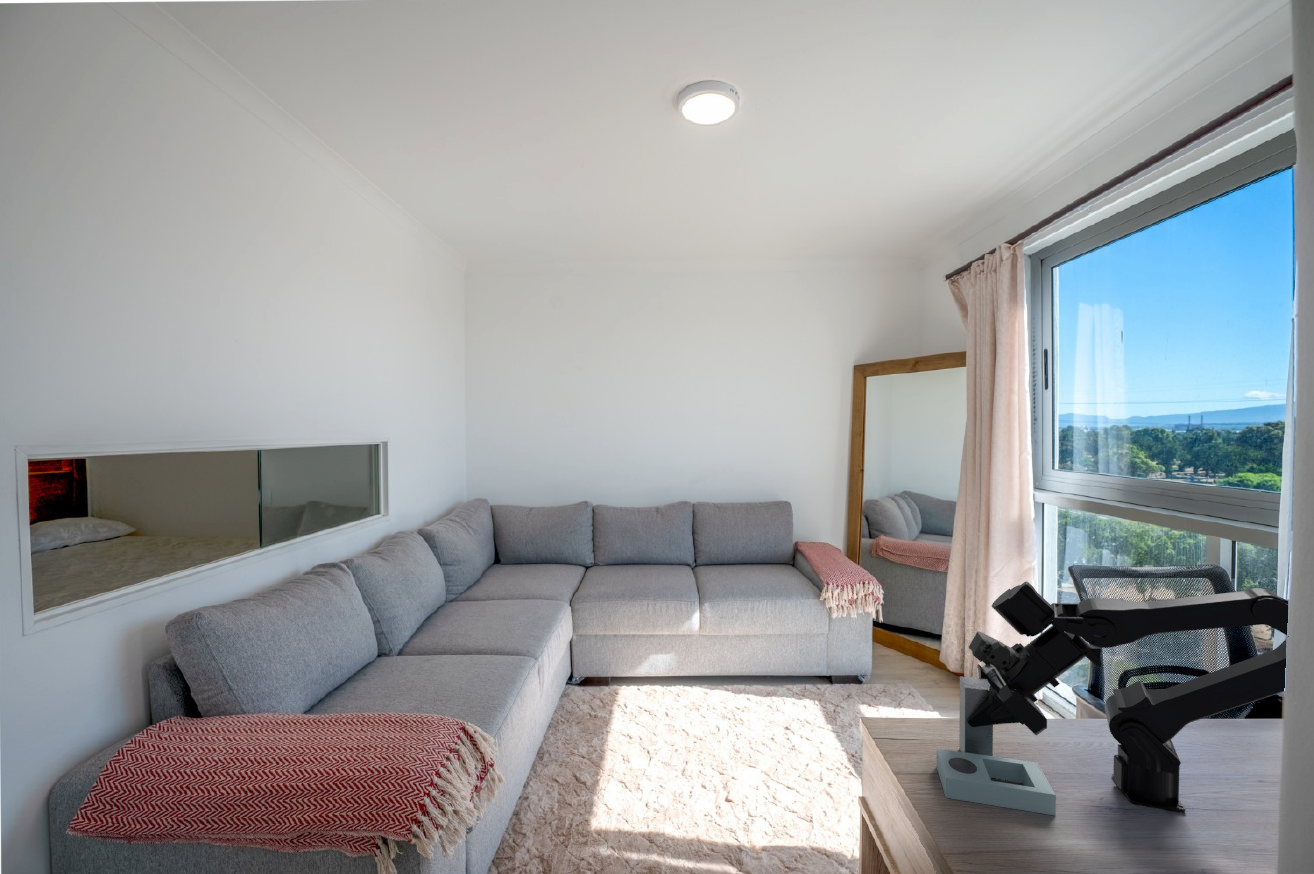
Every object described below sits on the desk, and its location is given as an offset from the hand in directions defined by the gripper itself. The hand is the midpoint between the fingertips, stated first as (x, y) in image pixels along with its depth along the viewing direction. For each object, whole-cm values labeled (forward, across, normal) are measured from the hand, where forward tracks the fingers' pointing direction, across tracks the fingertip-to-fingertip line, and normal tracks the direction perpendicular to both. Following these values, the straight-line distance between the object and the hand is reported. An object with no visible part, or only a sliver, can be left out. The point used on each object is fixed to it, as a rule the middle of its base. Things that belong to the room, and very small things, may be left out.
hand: (966, 717), depth 94 cm
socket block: (+3, +8, +6) cm, 11 cm away
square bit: (+4, 0, +6) cm, 7 cm away
